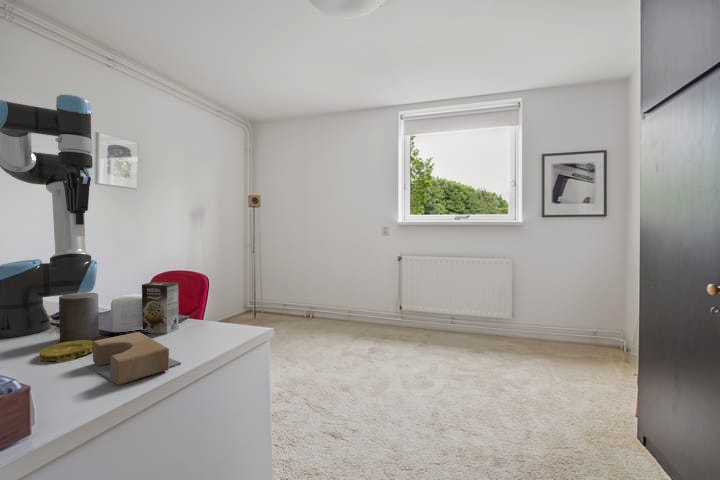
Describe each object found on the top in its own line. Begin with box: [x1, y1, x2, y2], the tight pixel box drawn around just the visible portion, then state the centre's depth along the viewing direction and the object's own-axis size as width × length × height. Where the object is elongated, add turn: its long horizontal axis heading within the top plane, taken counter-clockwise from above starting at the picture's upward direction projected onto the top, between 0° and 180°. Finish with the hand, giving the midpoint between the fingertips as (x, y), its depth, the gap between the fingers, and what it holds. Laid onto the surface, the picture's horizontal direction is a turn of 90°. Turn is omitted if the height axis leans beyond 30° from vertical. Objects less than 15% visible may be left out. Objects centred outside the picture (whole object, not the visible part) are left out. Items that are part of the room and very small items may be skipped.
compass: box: [39, 339, 95, 363], centre depth 96 cm, size 12×12×2 cm
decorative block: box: [92, 331, 170, 386], centre depth 87 cm, size 11×6×20 cm
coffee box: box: [141, 281, 180, 335], centre depth 117 cm, size 9×6×16 cm
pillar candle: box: [58, 291, 100, 343], centre depth 108 cm, size 10×10×15 cm
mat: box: [87, 357, 182, 386], centre depth 88 cm, size 17×14×1 cm
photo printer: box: [110, 293, 143, 330], centre depth 116 cm, size 10×4×12 cm, turn 123°
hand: (78, 236), depth 99 cm, fingers closed
